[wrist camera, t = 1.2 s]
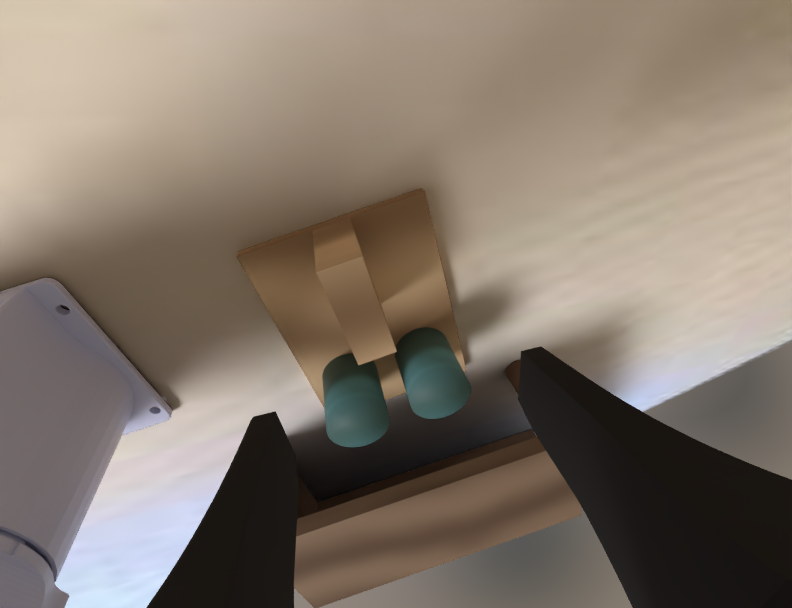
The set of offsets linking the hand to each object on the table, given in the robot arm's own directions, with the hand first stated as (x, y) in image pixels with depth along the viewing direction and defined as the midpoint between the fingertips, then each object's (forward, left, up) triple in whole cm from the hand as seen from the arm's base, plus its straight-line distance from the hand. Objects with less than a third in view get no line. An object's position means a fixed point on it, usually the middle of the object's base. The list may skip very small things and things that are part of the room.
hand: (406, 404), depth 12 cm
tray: (+4, -1, -10) cm, 11 cm away
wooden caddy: (+15, -1, -10) cm, 18 cm away
